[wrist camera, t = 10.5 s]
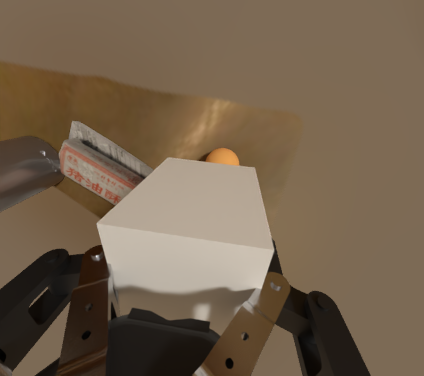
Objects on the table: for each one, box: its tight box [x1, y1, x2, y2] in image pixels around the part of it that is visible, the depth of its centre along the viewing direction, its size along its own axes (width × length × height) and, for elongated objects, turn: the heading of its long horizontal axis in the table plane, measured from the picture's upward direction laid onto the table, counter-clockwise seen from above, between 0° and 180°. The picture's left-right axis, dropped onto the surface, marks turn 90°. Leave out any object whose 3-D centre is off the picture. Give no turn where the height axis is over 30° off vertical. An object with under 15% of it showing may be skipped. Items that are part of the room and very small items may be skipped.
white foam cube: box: [96, 158, 274, 336], centre depth 13 cm, size 7×7×9 cm
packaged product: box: [59, 121, 154, 206], centre depth 31 cm, size 18×5×10 cm
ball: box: [205, 148, 239, 166], centre depth 27 cm, size 5×5×5 cm
